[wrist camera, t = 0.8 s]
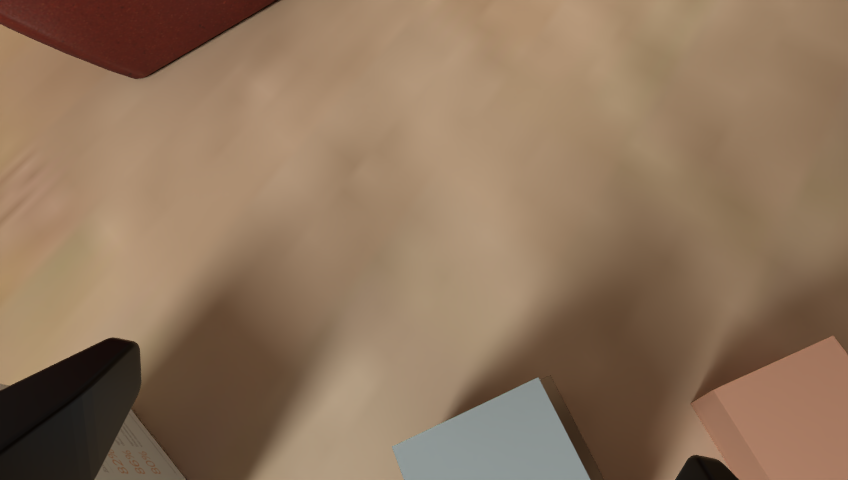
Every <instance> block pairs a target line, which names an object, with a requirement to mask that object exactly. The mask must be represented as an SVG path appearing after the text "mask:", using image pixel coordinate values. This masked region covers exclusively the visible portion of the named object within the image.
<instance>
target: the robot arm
mask: <svg viewBox="0 0 848 480" xmlns="http://www.w3.org/2000/svg"><path fill="white" fill-rule="evenodd" d="M140 387H141V362H140V348H139V345H138V344H137V343H136V342H134V341H129V340H125V339H120V338H108V339H106V340H104V341H101V342H99V343H97V344H95V345H93V346H91V347H89V348H87V349H85V350H83V351H81V352H79V353H77V354H75V355H73V356H70V357H68V358H66V359H64V360H62V361H60V362H58V363H56V364H54V365H52V366H50V367H48V368H46V369H44V370H42V371H39V372H37V373H35V374H33V375H31V376H29V377H27V378H25V379H23V380H21V381H19V382H17V383H15V384H13V385H11V386H8V387H6V388H4V389H2V390H0V480H95V478H96V476H97V474H98V472H99V470H100V468H101V467H102V465H103V463H104V461H105V459H106V457H107V455H108V453H109V451H110V449H111V447H112V445H113V443H114V441H115V439H116V437H117V435H118V433H119V431H120V429H121V427H122V425H123V423H124V421H125V419H126V417H127V415H128V413H129V412H130V410H131V408H132V406H133V404H134V402H135V400H136V398H137V396H138V393H139V390H140ZM675 480H739V479H738V478H737V477H736V476H735V475H734V474H733V473H732V472H731V471H730V470H729V469H728V468H727V467H726V466H725V465H724V464H723V463H722V462H720V461H719V460H717V459H714V458H709V457H704V456H699V455H693V456H691V457H690V458H688V460H687V461H686V463H685V465H684V466H683V468H682V469H681V471H680V473H679V474H678V476H677V478H676V479H675Z"/></svg>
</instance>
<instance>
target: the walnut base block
mask: <svg viewBox="0 0 848 480" xmlns="http://www.w3.org/2000/svg"><path fill="white" fill-rule="evenodd" d="M540 382H541V384H542V386H543V388H544V389H545V391H546V393H547V395H548V397H549V399H550V401H551V403H552V405H553V407H554V409H555V411H556V413H557V415H558V417H559V419H560V421H561V423H562V425H563V427H564V429H565V431H566V433H567V435H568V437H569V439H570V441H571V442H572V444H573V446H574V448H575V450H576V452H577V454H578V456H579V458H580V460H581V462H582V464H583V466H584V468H585V470H586V472H587V474H588V476H589V478H590V480H604V478H603V476H602V474H601V473H600V471H599V469H598V467H597V465H596V463H595V461H594V459H593V457H592V455H591V453H590V451H589V449H588V447H587V445H586V443H585V441H584V439H583V438H582V436H581V434H580V432H579V430H578V428H577V426H576V424H575V422H574V420H573V418H572V416H571V414H570V412H569V410H568V408H567V406H566V404H565V403H564V401H563V399H562V397H561V395H560V393H559V391H558V389H557V387H556V385H555V383H554V381H553V379H552V377H551V375H550V376H548V377H546V378H543V379H541V380H540Z"/></svg>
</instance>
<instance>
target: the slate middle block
mask: <svg viewBox="0 0 848 480" xmlns="http://www.w3.org/2000/svg"><path fill="white" fill-rule="evenodd" d="M392 448H393V451H394V454H395V456H396V459H397V462H398V465H399V467H400V470H401V473H402V475H403V478H404V480H590V478H589V476H588V474H587V472H586V470H585V468H584V466H583V464H582V462H581V460H580V458H579V456H578V454H577V452H576V450H575V448H574V446H573V444H572V442H571V441H570V439H569V437H568V435H567V433H566V431H565V429H564V427H563V425H562V423H561V421H560V419H559V417H558V415H557V413H556V411H555V409H554V407H553V405H552V403H551V401H550V399H549V397H548V395H547V393H546V391H545V389H544V388H543V386H542V384H541V382H540V380H539V378H535V379H533V380H531V381H529V382H527V383H525V384H523V385H521V386H519V387H516V388H514V389H512V390H510V391H508V392H506V393H504V394H502V395H500V396H498V397H495V398H493V399H491V400H489V401H487V402H485V403H483V404H481V405H479V406H477V407H474V408H472V409H470V410H468V411H466V412H464V413H462V414H460V415H458V416H456V417H453V418H451V419H449V420H447V421H445V422H443V423H441V424H439V425H437V426H434V427H432V428H430V429H428V430H426V431H424V432H422V433H420V434H418V435H416V436H413V437H411V438H409V439H407V440H405V441H403V442H401V443H399V444H397V445H395V446H392Z"/></svg>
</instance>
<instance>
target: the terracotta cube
mask: <svg viewBox="0 0 848 480" xmlns="http://www.w3.org/2000/svg"><path fill="white" fill-rule="evenodd" d="M691 405H692V407H693V408H694V410H695V412H696V413H697V415H698V417H699V418H700V420H701V422H702V423H703V425H704V427H705V428H706V430H707V432H708V433H709V435H710V437H711V438H712V440H713V442H714V443H715V445H716V446H717V448H718V450H719V451H720V453H721V455H722V456H723V458H724V460H725V461H726V463H727V465H728V466H729V468H730V470H731V471H732V473H733V474H734V475H735V476H736V477H737V478H738V479H739V480H848V354H847V353H846V352H845V350H844V349H843V348H842V346H841V345H840V344H839V342H838V341H837V340H836V338H835V337H834V336H831V337H829V338H826V339H824V340H822V341H820V342H818V343H815V344H813V345H811V346H809V347H806V348H804V349H802V350H800V351H798V352H795V353H793V354H791V355H789V356H787V357H784V358H782V359H780V360H778V361H776V362H773V363H771V364H769V365H767V366H765V367H762V368H760V369H758V370H756V371H754V372H751V373H749V374H747V375H745V376H742V377H740V378H738V379H736V380H734V381H731V382H729V383H727V384H725V385H723V386H720V387H718V388H716V389H714V390H712V391H710V392H709V393H707V394H705V395H704V396H702V397H700V398H699V399H697V400H696V401H694V402H692V403H691Z"/></svg>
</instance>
